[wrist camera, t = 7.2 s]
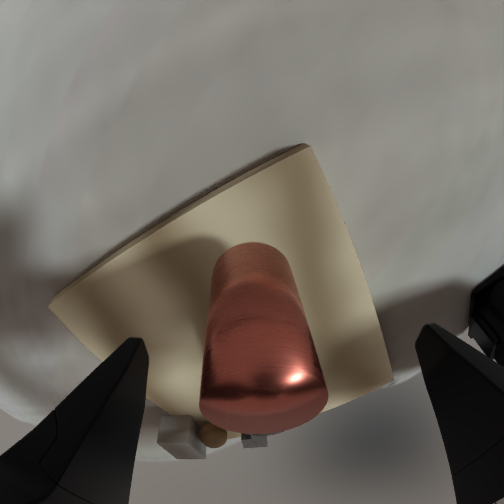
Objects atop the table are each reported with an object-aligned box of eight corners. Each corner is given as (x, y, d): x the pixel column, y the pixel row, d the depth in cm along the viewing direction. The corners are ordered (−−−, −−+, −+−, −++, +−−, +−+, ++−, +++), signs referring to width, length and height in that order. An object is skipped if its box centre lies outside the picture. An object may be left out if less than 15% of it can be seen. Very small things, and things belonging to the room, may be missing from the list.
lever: (294, 222, 12) (354, 357, 5) (288, 429, 21) (299, 504, 14) (200, 231, 12) (167, 375, 5) (243, 433, 21) (246, 508, 14)
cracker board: (304, 143, 12) (330, 156, 9) (389, 370, 21) (405, 405, 17) (42, 305, 16) (17, 342, 12) (197, 435, 25) (196, 467, 21)
